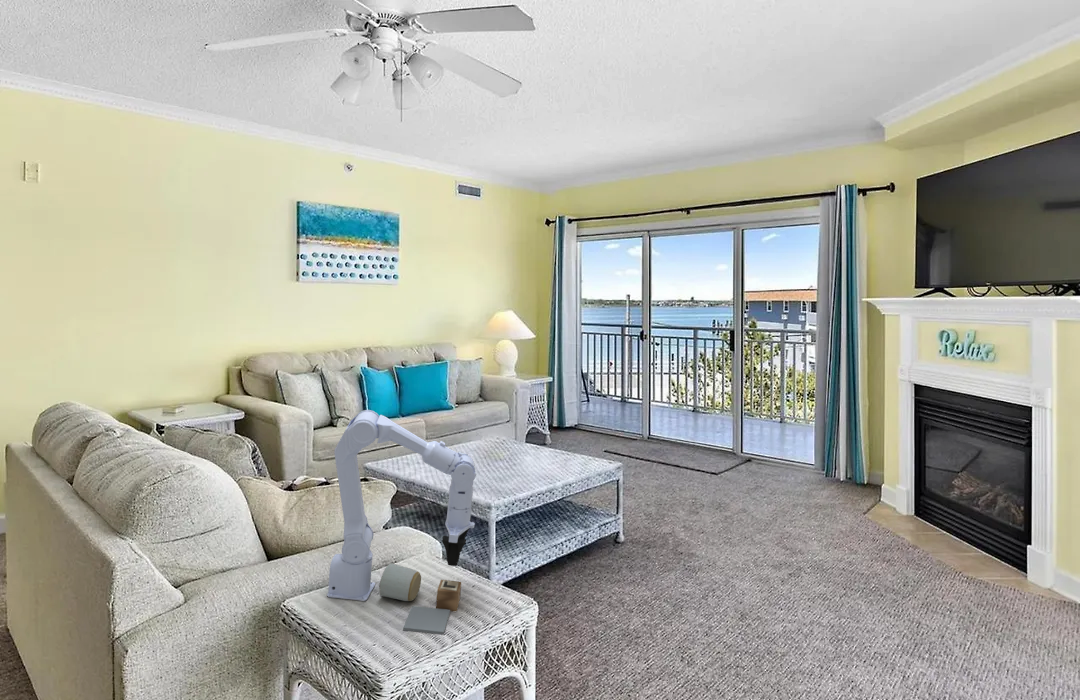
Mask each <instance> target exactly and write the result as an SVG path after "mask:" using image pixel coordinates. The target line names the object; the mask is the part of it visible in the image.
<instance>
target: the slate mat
mask: <svg viewBox="0 0 1080 700" xmlns="http://www.w3.org/2000/svg"><path fill="white" fill-rule="evenodd" d="M410 608H411V609H410V610H409V613H408V614H407V618H406V620H405V622H404V625H403V628H402V631H409V632H418V633H424V634H425V633H427V634H436V635H442V636H443V635H444V634H445V631H446V627H447V624H448V621H449V616H450V614H451V611H450V610H447V609H438V608H436V607H429V606H428V607H426V606H417V605H412V606H411V607H410Z"/></svg>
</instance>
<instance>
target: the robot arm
mask: <svg viewBox="0 0 1080 700" xmlns="http://www.w3.org/2000/svg"><path fill="white" fill-rule="evenodd" d="M345 428H346V429H345V430H344V431H343V433H342V435H341V437H340V438H339V441H338V442H337V444H336V447H335V448H334V452H333V453H334V460H335V467H336V475H337V481H338V487H339V494H340V501H341V502H340V503H341V509H342V517H343V522H344V523H343V544H342V548H341V553H335V554H334V555H333V557H332V559H331V562H330V565H329V571H328V573H329V574H328V586H327V587H328V588H327V589H328V590H327V594H326V597H327V596H328V597H327V598H334V599H342V600H343V599H345V600H352V601H353V600H354V601H362V602H366V601H367V600H368V599H369V597H370V595H371V593H372V592H373V589H374V588H375V586H376V582H371V580H372V568H373V552H372V550H371V545H372V542H373V539H374V535H375V534H374V530H373V528H372V527H371V526H370V524H369V522H368V517H367V515H366V512H365V506H364V505H365V504H364V498H363V497H364V495H363V490H362V484H361V483H362V482H361V475H360V469H359V461H358V454H359V453H360V452H361V451H362V449H364V448H366V447H368V446H370V445H371V444H373V443H374V442H375V441H376V439H377V444H382V443H386V442H392V443H395V444H398V445H400V446H402V447H403V448H406V449H408V450H409V451H412V452H414V453H416V454H419V455H420V456H421V458H422V459H421V460H422V461H423V464H426V465H427V466H430V467H432V468H434V469H435V470H438V471H439V472H442V474H445V475H448V476H449V475H450V478H451V483H450V485H449V491H448V502H447V512H446V513H447V514H446V520H445V528H446V530H447V532H448V534H449V535H443V536H442V540H441V541H442V544H443V547H444V549H445V553H446V561H447V566H450V567H457V565H458V563H459V559H460V555H461V552H462V550H463V548H464V546H465V545H466V543H467V539H466V536H467V534H468V533H469V531H470V529H474V528H475V522H473V521H471V513H472V505H473V504H472V503H473V494H474V487H473V486H474V482H475V481H474V480H475V479H476V477H477V476H476V475H477V474H476V467H475V465H476V464H475V461H474V459H473V458H472V457H471V456H470V455H468V453H463V452H461V451H458V452H457V451H456V450H453V449H452V448H449V447H448V446H446V442H444V441H443V440H440V441H439V442H438V441H437V440H433V441H426V440H425V439H423V438H421V437H420V436H418V435H416V434H414V433H413V432H411V431H409V430H408V429H406V428H404V426H401V425H400V424H398V423H396V422H394V421H393V420H391V419H389V418H388V417H386V416H385V415H383V414H380V415H379V414H378V413H377V412H375V411H374V410H370V409H366V410H365V409H364V410H362V411H359V412H358V413H357V414H356V415H355V416H354V417H353V418H352V419H351V420H350V421H349V423H348V424H347V426H346V427H345Z"/></svg>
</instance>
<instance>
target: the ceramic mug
mask: <svg viewBox="0 0 1080 700" xmlns="http://www.w3.org/2000/svg"><path fill="white" fill-rule="evenodd" d="M421 582H422V574H421V573H420V572H419V571H417V570H415V569H413V568H410V567H409V568H408V567H406V566H401V565H400V564H399V565H398V564H395V563H392V562H391V563H389V564H387V566H386V567H385V568H384V569H383V572H382V576H381V577H380V582H379V588H378V589H379V592H378V593H379V595H380V596H381V597H384V598H390V599H395V600H399V601H403V602H412V601H414V600H415V599H416V597H417V595H418V594H419V591H420V587H421Z"/></svg>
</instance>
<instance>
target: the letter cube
mask: <svg viewBox="0 0 1080 700" xmlns="http://www.w3.org/2000/svg"><path fill="white" fill-rule="evenodd" d="M461 590H462V581H457V580H450V579H448V580H447V579H440V581H439V584H438V587H437V591H436V602H435V608H438V609H447V610H450V612H453V611H457V612H458V609H459V606H460V605H459V604H460V602H459V601H460V600H461V593H462V592H461ZM457 608H458V609H457Z"/></svg>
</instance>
